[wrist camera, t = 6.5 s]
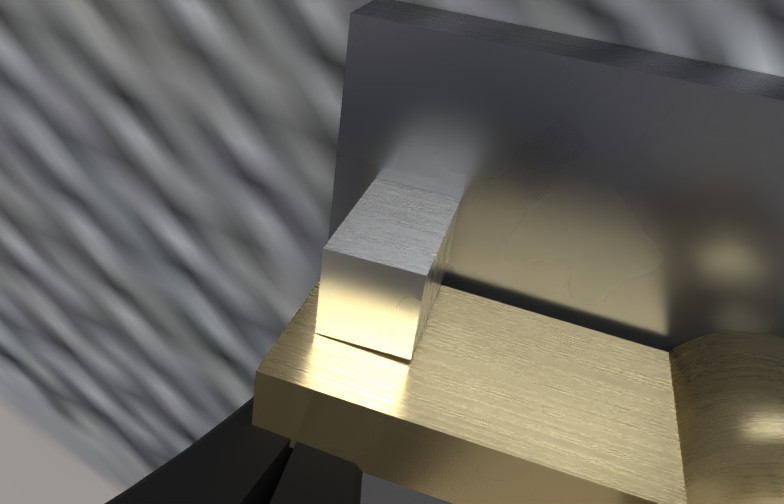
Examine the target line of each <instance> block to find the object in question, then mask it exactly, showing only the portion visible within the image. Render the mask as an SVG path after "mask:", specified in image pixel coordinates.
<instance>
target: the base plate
mask: <svg viewBox="0 0 784 504" xmlns="http://www.w3.org/2000/svg"><path fill="white" fill-rule="evenodd" d="M440 285H443V286H446V287H450V288H453V289H457V290H460V291H463V292H467V293H470V294H473V295H477V296H480V297H484V298H487V299H490V300H494V301H497V302H500V303H504V304H507V305H510V306H514V307H517V308H521V309H524V310H527V311H531V312H534V313H537V314H541V315H544V316H547V317H551V318H554V319H558V320H561V321H564V322H568V323H571V324H574V325H578V326H581V327H584V328H588V329H591V330H595V331H598V332H601V333H605V334H608V335H611V336H615V337H618V338H622V339H625V340H628V341H632V342H635V343H638V344H642V345H645V346H648V347H652V348H655V349H659V350H662V351H665V352H670V351H671V350H673V349H674V348H676V347H677V346H679V345H681V344H683V343H685V342H687V341H690V340H692V339H695V338H698V337H701V336H705V335H709V334H714V333H720V332H730V331H750V332H758V333H765V334H769V335H774V336H777V337H780V338H783V339H784V77H780V76H775V75H770V74H765V73H760V72H755V71H750V70H745V69H740V68H735V67H730V66H724V65H719V64H714V63H709V62H704V61H699V60H694V59H689V58H684V57H679V56H674V55H669V54H664V53H659V52H653V51H648V50H643V49H638V48H633V47H628V46H623V45H618V44H613V43H608V42H603V41H598V40H593V39H588V38H583V37H577V36H572V35H567V34H562V33H557V32H552V31H547V30H542V29H537V28H532V27H527V26H522V25H517V24H512V23H507V22H501V21H496V20H491V19H486V18H481V17H476V16H471V15H466V14H461V13H456V12H451V11H446V10H441V9H436V8H431V7H425V6H420V5H415V4H410V3H405V2H400V1H395V0H373V1H371V2H369V3H368V4H366V5H364V6H362V7H360V8H359V9H357V10H355V11H353V12H351V15H350V25H349V35H348V46H347V56H346V66H345V77H344V87H343V97H342V107H341V118H340V128H339V138H338V149H337V159H336V169H335V179H334V190H333V200H332V210H331V221H330V231H329V241H328V242H327V244H326V245H325V246H324V248H323V254H322V265H321V275H320V286H319V297H318V308H317V318H316V329H315V333H319V334H322V335H325V336H329V337H332V338H336V339H339V340H343V341H346V342H350V343H353V344H357V345H360V346H364V347H367V348H371V349H374V350H378V351H381V352H385V353H388V354H392V355H395V356H399V357H402V358H406V359H409V360H411V358H412V355H413V353H414V350H415V348H416V345H417V343H418V340H419V338H420V335H421V333H422V330H423V328H424V325H425V323H426V320H427V318H428V315H429V313H430V310H431V308H432V305H433V303H434V300H435V298H436V295H437V293H438V290H439V288H440ZM360 504H453V503H450V502H447V501H444V500H441V499H439V498H436V497H433V496H430V495H427V494H424V493H421V492H418V491H415V490H413V489H410V488H407V487H404V486H401V485H398V484H395V483H392V482H389V481H386V480H384V479H381V478H378V477H375V476H372V475H369V474H366V473H363V475H362V486H361V501H360Z"/></svg>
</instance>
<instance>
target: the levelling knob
mask: <svg viewBox="0 0 784 504" xmlns="http://www.w3.org/2000/svg"><path fill="white" fill-rule="evenodd" d="M319 286H320V280H319V282H318V283H317V285H316V286H315V287H314V289H313V290H312V292H311V293H310V295H309V296H308V297H307V299H306V300H305V302H304V303H303V305H302V306H301V307H300V309H299V310H298V312H297V313H296V315H295V316H294V317H293V319H292V320H291V322H290V323H289V325H288V326H287V327H286V329H285V330H284V332H283V333H282V334H281V336H280V337H279V339H278V340H277V342H276V343H275V344H274V346H273V347H272V349H271V350H270V352H269V353H268V354H267V356H266V357H265V359H264V360H263V362H262V363H261V364H260V366H259V367H258V369H257V370H256V377H255V390H254V402H253V415H252V425H255V426H257V427H260V428H263V429H265V430H268V431H271V432H273V433H276V434H279V435H281V436H284V437H287V438H289V439H291V440H290V445H289V447H291V448H294V446H295V444H296V442H300V443H303V444H305V445H308V446H311V447H313V448H316V449H319V450H321V451H324V452H327V453H329V454H332V455H335V456H337V457H340V458H343V459H345V460H348V461H351V462H353V463H356V464H357V466H358V467H359V469H360V470H361V471H362V472H363V473H366V474H369V475H372V476H375V477H378V478H381V479H384V480H386V481H389V482H392V483H395V484H398V485H401V486H404V487H407V488H410V489H413V490H415V491H418V492H421V493H424V494H427V495H430V496H433V497H436V498H439V499H441V500H444V501H447V502H450V503H453V504H784V339H783V338H780V337H777V336H774V335H769V334H765V333H758V332H750V331H730V332H720V333H714V334H709V335H705V336H701V337H698V338H695V339H692V340H690V341H687V342H685V343H683V344H681V345H679V346H677V347H676V348H674V349H673V350H671V351H670V352H665V351H662V350H659V349H655V348H652V347H648V346H645V345H642V344H638V343H635V342H632V341H628V340H625V339H622V338H618V337H615V336H611V335H608V334H605V333H601V332H598V331H595V330H591V329H588V328H584V327H581V326H578V325H574V324H571V323H568V322H564V321H561V320H558V319H554V318H551V317H547V316H544V315H541V314H537V313H534V312H531V311H527V310H524V309H521V308H517V307H514V306H510V305H507V304H504V303H500V302H497V301H494V300H490V299H487V298H484V297H480V296H477V295H473V294H470V293H467V292H463V291H460V290H457V289H453V288H450V287H446V286H443V285H440V288H439V290H438V293H437V295H436V298H435V300H434V303H433V305H432V308H431V310H430V313H429V315H428V318H427V320H426V323H425V325H424V328H423V330H422V333H421V335H420V338H419V340H418V343H417V345H416V348H415V350H414V353H413V355H412V358H411V360H409V359H406V358H402V357H399V356H395V355H392V354H388V353H385V352H381V351H378V350H374V349H371V348H367V347H364V346H360V345H357V344H353V343H350V342H346V341H343V340H339V339H336V338H332V337H329V336H325V335H322V334H319V333H315V329H316V318H317V308H318V297H319Z"/></svg>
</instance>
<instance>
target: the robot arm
mask: <svg viewBox="0 0 784 504" xmlns="http://www.w3.org/2000/svg"><path fill="white" fill-rule="evenodd" d="M253 402H254V397H252V398H251V399H250V400H249V401H248V402H246V403H245V404H244V405H243V406H241V407H240V408H239V409H238V410H237V411H235V412H234V413H233V414H232V415H230V416H229V417H228V418H227V419H225V420H224V421H223V422H221V423H220V424H219V425H217V426H216V427H215V428H213V429H212V430H211V431H209V432H208V433H207V434H206V435H204V436H203V437H202V438H200V439H199V440H198V441H196V442H195V443H194V444H192V445H191V446H190V447H188V448H187V449H186V450H184V451H183V452H181V453H180V454H179V455H177V456H176V457H174V458H173V459H171V460H170V461H168V462H167V463H165V464H164V465H163V466H161V467H160V468H158V469H157V470H155V471H154V472H152V473H151V474H149V475H148V476H146V477H145V478H143V479H142V480H141V481H139V482H138V483H136V484H135V485H133V486H132V487H130V488H129V489H127V490H126V491H124V492H123V493H121V494H119V495H118V496H116V497H115V498H113V499H112V500H110V501H108V502H107V503H105V504H360V501H361V486H362V475H363V472H362V471H361V470H360V469H359V467H358V466H357V464H356V463H353V462H351V461H348V460H345V459H343V458H340V457H337V456H335V455H332V454H329V453H327V452H324V451H321V450H319V449H316V448H313V447H311V446H308V445H305V444H303V443H300V442H296V444H295V446H294V448H291V447H289V445H290V440H291V439H289V438H287V437H284V436H281V435H279V434H276V433H273V432H271V431H268V430H265V429H263V428H260V427H257V426H255V425H252V415H253Z"/></svg>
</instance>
